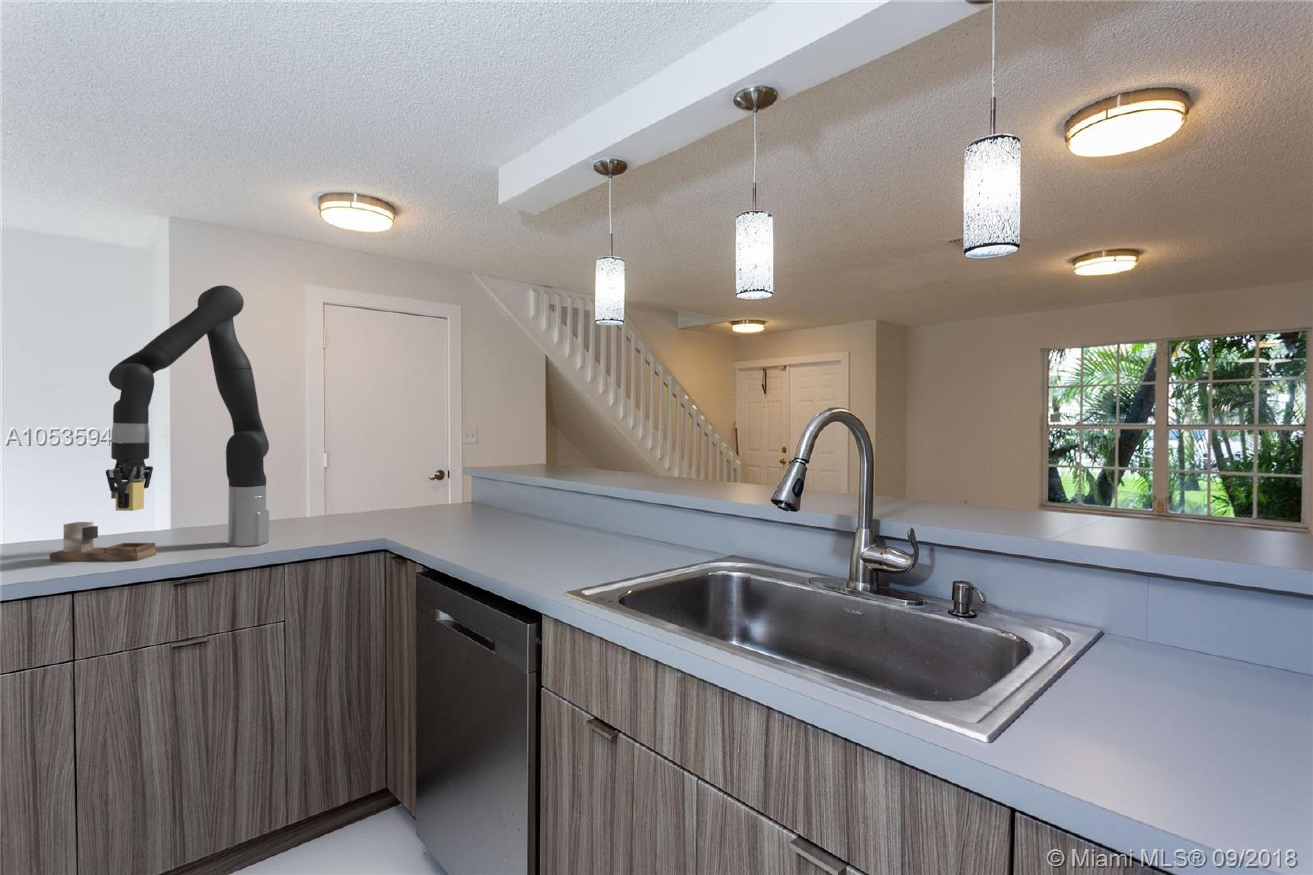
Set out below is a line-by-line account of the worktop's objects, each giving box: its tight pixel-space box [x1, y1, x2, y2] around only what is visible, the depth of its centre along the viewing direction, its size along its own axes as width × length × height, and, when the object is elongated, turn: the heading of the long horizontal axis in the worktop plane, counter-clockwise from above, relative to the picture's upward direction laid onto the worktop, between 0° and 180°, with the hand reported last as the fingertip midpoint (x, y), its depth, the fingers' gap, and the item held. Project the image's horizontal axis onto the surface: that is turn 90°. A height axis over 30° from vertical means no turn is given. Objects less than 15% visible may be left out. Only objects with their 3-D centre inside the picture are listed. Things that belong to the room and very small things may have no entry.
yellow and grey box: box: [110, 481, 145, 512], centre depth 160 cm, size 5×4×7 cm
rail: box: [49, 521, 157, 562], centre depth 159 cm, size 20×7×9 cm, turn 98°
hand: (129, 506), depth 160 cm, fingers closed on yellow and grey box, 4 cm apart
